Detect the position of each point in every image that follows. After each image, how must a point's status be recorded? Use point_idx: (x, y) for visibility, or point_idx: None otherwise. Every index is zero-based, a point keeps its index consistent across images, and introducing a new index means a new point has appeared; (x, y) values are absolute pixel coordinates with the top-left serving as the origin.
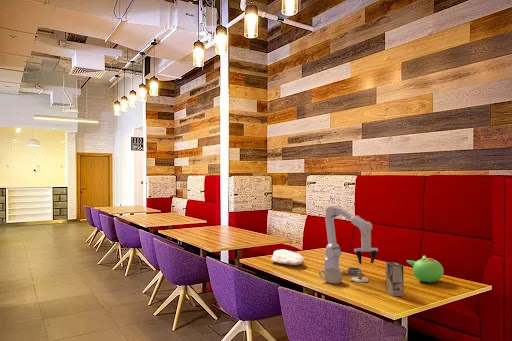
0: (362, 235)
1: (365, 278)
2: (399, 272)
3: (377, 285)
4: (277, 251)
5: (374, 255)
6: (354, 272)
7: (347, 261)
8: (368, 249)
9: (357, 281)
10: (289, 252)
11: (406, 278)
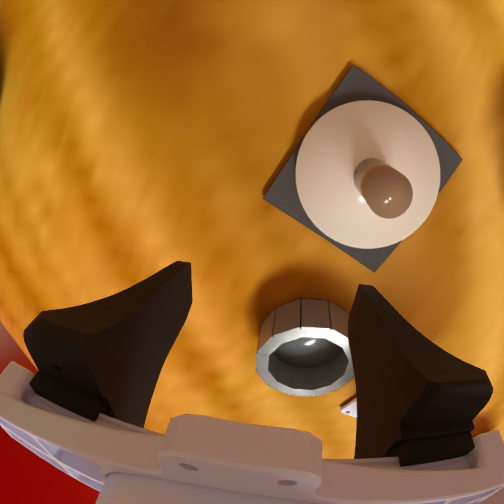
0: None
1: (317, 175)
2: None
3: (282, 19)
4: None
5: (99, 312)
6: (336, 321)
7: None
8: (211, 485)
9: (422, 129)
10: None
11: (23, 179)
